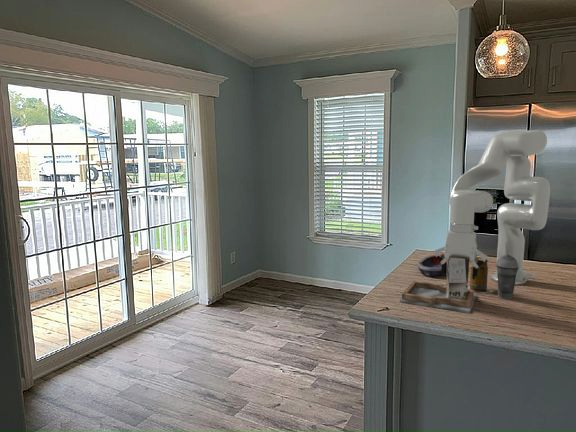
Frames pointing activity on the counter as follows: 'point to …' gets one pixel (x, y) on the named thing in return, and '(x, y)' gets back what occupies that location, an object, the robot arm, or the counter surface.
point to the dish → (431, 265)
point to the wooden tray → (436, 297)
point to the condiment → (480, 278)
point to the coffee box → (457, 277)
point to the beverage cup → (506, 275)
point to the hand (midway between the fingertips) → (459, 276)
